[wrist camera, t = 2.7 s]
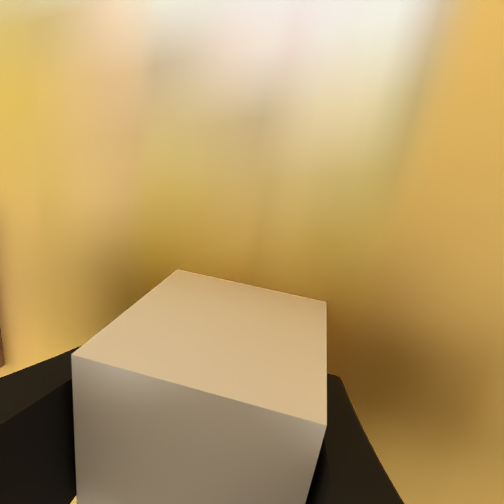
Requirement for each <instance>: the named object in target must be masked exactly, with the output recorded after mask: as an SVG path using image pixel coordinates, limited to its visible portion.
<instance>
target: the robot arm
mask: <svg viewBox="0 0 504 504" xmlns="http://www.w3.org/2000/svg"><path fill="white" fill-rule="evenodd" d="M80 347H81V346H80ZM80 347H77V348H75V349H72V350H70V351H68V352H65V353H63V354H61V355H58V356H56V357H53V358H51V359H48V360H46V361H43V362H40V363H38V364H35V365H33V366H30V367H27V368H25V369H22V370H20V371H17V372H14V373H12V374H9V375H6V376H4V377H1V378H0V504H70V503H71V501H72V500H73V499H74V497H75V496H76V495H77V490H76V465H75V439H74V413H73V388H72V362H71V354H72V353H74V352H75V351H76V350H77V349H79V348H80ZM305 504H404V502H403V501H402V499H401V498H400V496H399V494H398V492H397V491H396V489H395V487H394V486H393V484H392V482H391V480H390V479H389V477H388V475H387V473H386V472H385V470H384V468H383V466H382V464H381V463H380V461H379V459H378V457H377V455H376V453H375V451H374V449H373V447H372V445H371V444H370V442H369V440H368V438H367V436H366V434H365V432H364V430H363V428H362V426H361V424H360V422H359V419H358V417H357V415H356V413H355V411H354V409H353V406H352V404H351V402H350V400H349V397H348V395H347V393H346V390H345V388H344V385H343V383H342V381H341V379H340V378H339V377H338V376H334V375H330V374H327V427H326V430H325V434H324V438H323V441H322V445H321V449H320V452H319V456H318V459H317V463H316V467H315V470H314V474H313V478H312V481H311V485H310V488H309V492H308V496H307V499H306V503H305Z"/></svg>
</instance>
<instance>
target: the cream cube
mask: <svg viewBox="0 0 504 504" xmlns="http://www.w3.org/2000/svg"><path fill="white" fill-rule="evenodd" d="M71 362H72V388H73V413H74V439H75V465H76V490H77V504H305V503H306V499H307V496H308V492H309V488H310V485H311V481H312V478H313V474H314V470H315V467H316V463H317V459H318V456H319V452H320V449H321V445H322V441H323V438H324V434H325V430H326V427H327V309H326V302H325V301H321V300H316V299H311V298H307V297H302V296H298V295H293V294H289V293H284V292H280V291H275V290H271V289H266V288H262V287H257V286H252V285H248V284H243V283H239V282H234V281H230V280H225V279H221V278H216V277H212V276H207V275H203V274H198V273H193V272H189V271H184V270H180V269H177V270H176V271H174V272H173V273H172V274H171V275H169V276H168V277H167V278H166V279H164V280H163V281H162V282H161V283H159V284H158V285H157V286H156V287H155V288H153V289H152V290H151V291H150V292H148V293H147V294H146V295H145V296H143V297H142V298H141V299H140V300H138V301H137V302H136V303H135V304H133V305H132V306H131V307H130V308H128V309H127V310H126V311H125V312H123V313H122V314H121V315H120V316H118V317H117V318H116V319H115V320H113V321H112V322H111V323H110V324H108V325H107V326H106V327H105V328H103V329H102V330H101V331H100V332H98V333H97V334H96V335H95V336H93V337H92V338H91V339H90V340H88V341H87V342H86V343H85V344H84V345H82V346H81V347H80V348H79V349H77V350H76V351H75V352H74V353H72V354H71Z"/></svg>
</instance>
